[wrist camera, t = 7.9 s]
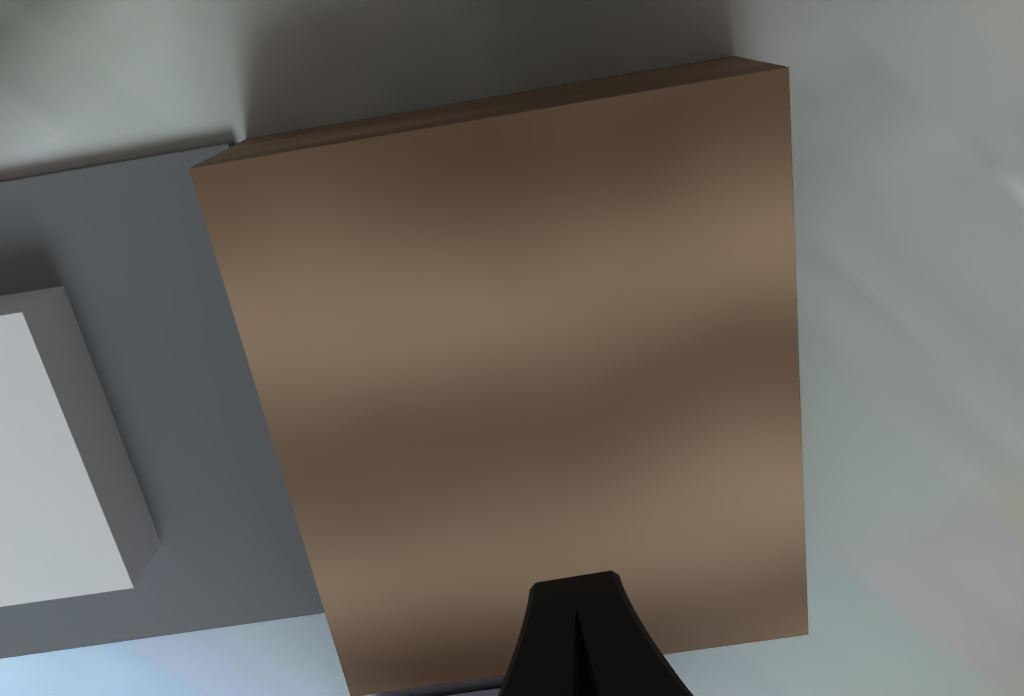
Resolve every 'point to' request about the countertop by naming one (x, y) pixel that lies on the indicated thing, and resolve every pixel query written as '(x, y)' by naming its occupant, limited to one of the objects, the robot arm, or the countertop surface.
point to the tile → (62, 463)
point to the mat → (160, 402)
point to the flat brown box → (530, 360)
